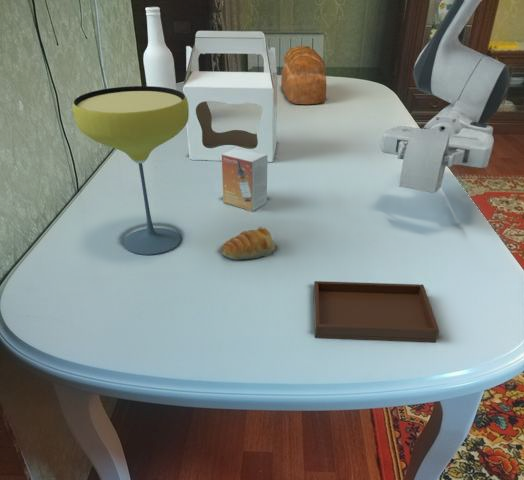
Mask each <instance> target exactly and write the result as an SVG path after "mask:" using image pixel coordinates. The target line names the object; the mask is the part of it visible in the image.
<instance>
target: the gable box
mask: <svg viewBox="0 0 524 480" xmlns="http://www.w3.org/2000/svg"><path fill="white" fill-rule="evenodd" d="M194 38H195V39H194V44H193V45H192V46H191V45H186V46H185V57H186V58H185V59H186V60H185V61H186V65H185V67H186V70H185V71H186V73H185V77H184V81H183V85H182V90H183V91H182V93H184V94H185V96H186V98H187V102H188V108H189V116H188V122H187V124H186V125H185V126H186V135H187V142H188V143H187V146H188V158H189V160H190V161H206V160H207V161H208V162H209V161H210V162H222V154H224V153H226V152H228V151H231V150H233V149H236V148H240V149H243V150H247V151H251V152H256V153H260V154H267V156H268V157H267V163H274V158H275V154H276V150H277V138H278V137H277V134H278V133H277V131H278V129H277V128H278V126H277V125H278V74H277V73H278V70H277V52H276V46H271V47H269V45H268V44H267V41H266V35H265V33H264V32H263V31H261V30H198V31H196V33H195V37H194ZM201 54H202V55H206V54H232V55H236V54H237V55H261V56H262V59H263V71H243V70H242V71H241V70H240V71H239V70H234V71H232V70H200V63H199V62H200V61H199V57H200V55H201ZM207 102H218V103H223V104H228V105H242V104H243V105H244V104H254V105H257V106H259V107H260V108H261V110H262V111H261V116H260V119H259V122H258V125H257V129H256V133H251V132H249V131H246V130H243V129H232V130H226V131H221V132H216V131H215V130H213V128H212V123H213V122H212V121H213V117H212V112H211V109H210V106H209V105H208V103H207Z"/></svg>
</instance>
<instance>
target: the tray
mask: <svg viewBox="0 0 524 480" xmlns="http://www.w3.org/2000/svg"><path fill="white" fill-rule="evenodd" d="M313 282H314V284H313V318H314V320H313V321H314V322H313V323H314V325H313V326H314V338H316V339H317V338H319V339H342V340H343V339H344V340H365V341H366V340H369V341H393V342H419V343H422V342H423V343H436V342H437V340H438V336H439V333H440V329H439V326H438V323H437V320H436V318H435V315H434V312H433V308H432V305H431V303H430V300H429V297H428V295H427V291H426V289H425V286H424V284H418V283H417V284H416V283H415V284H414V283H409V284H408V283H385V282H354V281H327V280H326V281H321V280H319V281H318V280H315V281H313Z"/></svg>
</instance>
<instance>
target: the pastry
mask: <svg viewBox="0 0 524 480" xmlns="http://www.w3.org/2000/svg"><path fill="white" fill-rule="evenodd" d="M275 249H276V245H275V242H274V240H273V237H272V234H271V232H270V231H269V229H267V228H265V227H261V226H260V227H259V226H258V228H256V229H250V230H242V231H240V233H239V234H238V235H236V236H234V237H232V238H229V240H227V241H226V242H224V243H223V244H222V248H221V254H222V255H223V256H224V257H226V258H228V259H230V260H235V261H242V260H253V259H258V258H262V257H268V256H270V255H271V254H273V252H274V251H275Z"/></svg>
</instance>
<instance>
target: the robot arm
mask: <svg viewBox="0 0 524 480" xmlns="http://www.w3.org/2000/svg"><path fill="white" fill-rule="evenodd" d="M482 1H483V0H453V2H452V4H451V6H450V7H449V9H448V11H447V12H446V14H445V15H444V18H443V19H442V21H441V22H440V24H439V26H438V27H437V29H436V31H435V32H434V34H433V36H432V37H431V39H430V40H429V41H428V43H426V45H425V46H424V47H423V49H422V50H421V52H420V53H419V55H418V57H417V58H416V61H415V63H414V66H413V70H412V77H413V80H414V84H415V86H416V88H417V90H418V91H419V92H422V93H425V94H427V95H430V96H433V97H437V98H438V99H441V100H443V101H445V102H447V103H449V104H448V105H447V106H445V107H444V108H442V109H441V110H440V111H439V112H438V113H437V114H436V115H435V116H433V117H432V118H431V119H430V120H429V121H428V122H426V124H425V125H424V126H423V127H422V128H421V127H416V128H417V129H424V130H430V131H437V132H443V133H450V137H449V147H448V154H446V155H445V156H444V162H443V166H445V167H448V168H451V167H452V166H455V165H456V166H457V165H458V166H465V167H470V168H471V167H472V168H478V169H483V168H487V167H488V166H489V162H490V158H491V155H492V151H493V147H494V142H495V138H494V136H493V134H494V133H493V132H494V127H493V126H491V125H487V123H489V122H490V120H492V118H493V117H494V115H495V114H496V112H497V111H498V110H499V108H500V106H501V105H502V103H503V101H504V99H505V97H506V95H507V93H508V91H509V89H510V85H511V76H510V75H511V74H510V69H509V67H508V64H505V63H503V62H501V61H500V60H498V59H495V58H493V57H491V56H489V55H487V54H483V53H481V52H479V51H478V50H475V49H472V48H471V47H469V46H466V45H464V44H462V43H461V42H460V39H459V36H460V34H461V32H462V31H463V29H464V28H465V26H466V25H467V23H468V22H469V20H470V19H471V17H472V16H473V14H474V13H475V11H476V9H477V8H478V6H479V5H480V3H481V2H482ZM412 128H414V127H412V126H405V125H404V126H403V125H399V126H395V127H394V126H393V127H392V128H389V129H387V130H385V131H384V132H383V133H382V135H381V138H380V139H381V140H380V151H381V152H382V153H383V154H389V155H394V156H397V159H398V160H403V159H404V154H405V150H406V147H407V144H408V140H409V137H410V133H411V129H412Z"/></svg>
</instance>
